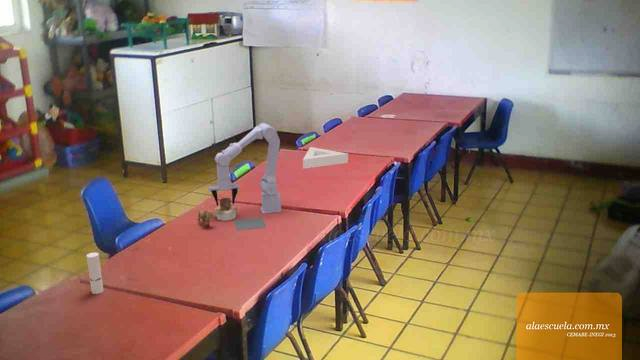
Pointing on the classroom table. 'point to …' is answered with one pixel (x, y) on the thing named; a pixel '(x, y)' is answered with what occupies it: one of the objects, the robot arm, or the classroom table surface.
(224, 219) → the bowl
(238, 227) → the mat
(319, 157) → the triangle block
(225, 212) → the lid
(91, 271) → the tube
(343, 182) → the classroom table surface
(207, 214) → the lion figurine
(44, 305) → the classroom table surface
